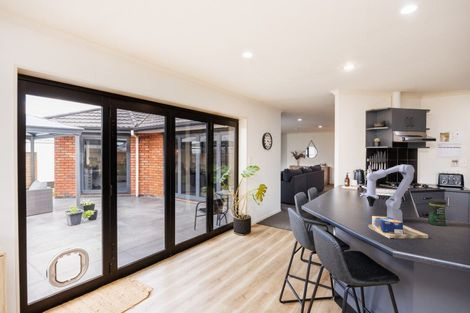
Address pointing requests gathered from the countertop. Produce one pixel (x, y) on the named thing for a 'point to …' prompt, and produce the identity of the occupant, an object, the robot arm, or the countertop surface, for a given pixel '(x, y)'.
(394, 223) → the beverage box
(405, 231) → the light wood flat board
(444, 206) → the coffee jar
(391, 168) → the robot arm
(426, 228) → the countertop surface
